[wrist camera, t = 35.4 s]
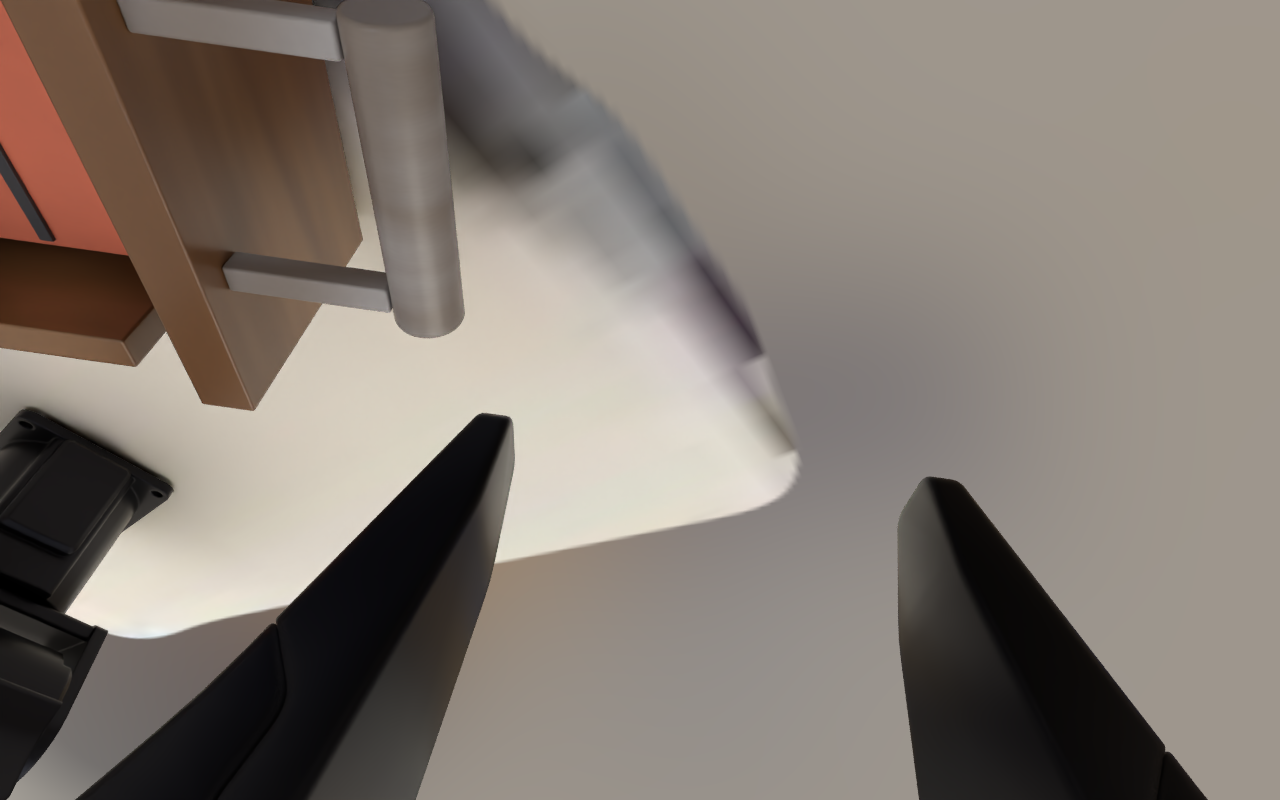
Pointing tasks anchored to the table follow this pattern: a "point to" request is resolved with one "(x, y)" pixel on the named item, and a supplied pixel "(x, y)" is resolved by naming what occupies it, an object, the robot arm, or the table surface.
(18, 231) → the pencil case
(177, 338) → the drawer
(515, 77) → the table surface
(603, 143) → the table surface
